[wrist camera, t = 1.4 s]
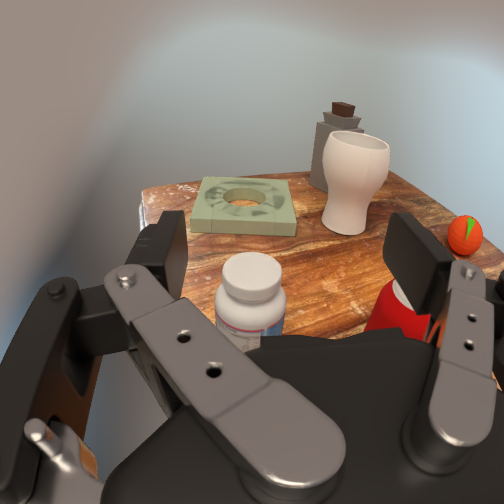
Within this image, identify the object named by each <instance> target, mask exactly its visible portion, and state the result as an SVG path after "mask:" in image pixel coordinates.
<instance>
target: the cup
mask: <svg viewBox="0 0 504 504" xmlns="http://www.w3.org/2000/svg"><path fill="white" fill-rule="evenodd" d="M322 162H323V169H324V175H325V179H326V182H327V184H328V201H327V204H326V207H325V209H324V212H323V215H322V218H321V219H322V223H323V224H324V225H325V226H326V227H327V228H328V229H330V230H332V231H334V232H336V233H340V234H344V235H357V234H360V233H362V232H363V231H364V230H365V224H366V213H367V208H368V205H369V203H370V200H371V198H372V196H373V195H374V194H375V193H376V192H377V191H378V190H379V189H380V188H381V186H382V184H383V182H384V181H385V179H386V177H387V175H388V170H389V166H390V147H389V145H388V144H387V143H385V142H384V141H382V140H380V139H377V138H375V137H372V136H369V135H366V134H362V133H357V132H351V131H334V132H331V133H330V135H329V137H328V140H327V142H326V145H325V147H324V152H323V159H322Z"/></svg>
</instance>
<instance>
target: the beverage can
mask: <svg viewBox="0 0 504 504" xmlns="http://www.w3.org/2000/svg"><path fill="white" fill-rule="evenodd" d="M430 316H431V315H430V314H428V315H419V316H417V315H416V313H415V311H414V310H413V308H412V306H411V304H410V303H409V301H408V299H407V298H406V296H405V294H404V293H403V291H402V289H401V288H400V286H399V284H398V283H397V281H396V279H395V278H394V279H393V280H391V281H390V282H388V283H387V284H386V285H385V286H384V287H383V289H382V290H381V292H380V294H379V296H378V299H377V301H376V304H375V306H374V308H373V311H372V313H371V316H370V318H369V320H368V323H367V325H366V327H365V329H364V332H365V331H368V330H374V329H385V328H395V327H401V329H402V331H403V333H404V335H405V337H409V338H414V339H418V340H421V341H422V340H423V336H424V333H425V329H426V326H427V323H428V320H429V318H430Z"/></svg>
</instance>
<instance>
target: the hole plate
mask: <svg viewBox="0 0 504 504" xmlns="http://www.w3.org/2000/svg"><path fill="white" fill-rule="evenodd" d="M240 199H242V200H251V201H256V202H258V203H260V204H259V205H256V206H249V207H245V206H236V205H232V204H230V203H228V202H230V201H233V200H240ZM296 225H297V222H296V217H295V213H294V208H293V204H292V199H291V195H290V190H289V186H288V182H287V180H275V179H258V178H235V177H204V178H203V180H202V183H201V186H200V189H199V192H198V195H197V198H196V201H195V204H194V207H193V210H192V213H191V216H190V230H191V232H198V233H224V234H248V235H270V236H293V237H295V232H296Z"/></svg>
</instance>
